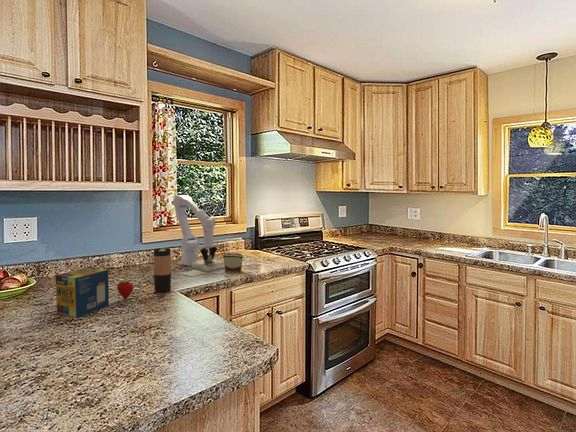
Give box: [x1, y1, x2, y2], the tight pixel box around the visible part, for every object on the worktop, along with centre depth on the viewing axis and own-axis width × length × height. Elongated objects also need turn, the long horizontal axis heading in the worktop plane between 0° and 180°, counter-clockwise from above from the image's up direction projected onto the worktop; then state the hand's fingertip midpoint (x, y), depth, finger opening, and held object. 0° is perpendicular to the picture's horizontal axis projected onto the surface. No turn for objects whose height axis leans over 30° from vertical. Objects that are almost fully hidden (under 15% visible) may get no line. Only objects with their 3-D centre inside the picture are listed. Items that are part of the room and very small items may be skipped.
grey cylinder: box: [205, 253, 212, 263], centre depth 215 cm, size 4×4×8 cm
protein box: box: [55, 266, 110, 319], centre depth 140 cm, size 10×15×16 cm
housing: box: [191, 258, 225, 273], centre depth 215 cm, size 14×14×4 cm
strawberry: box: [116, 278, 134, 300], centre depth 154 cm, size 6×8×10 cm
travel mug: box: [153, 247, 172, 294], centre depth 166 cm, size 8×8×20 cm
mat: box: [180, 269, 207, 278], centre depth 200 cm, size 10×10×1 cm
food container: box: [222, 252, 245, 273], centre depth 208 cm, size 12×6×10 cm, turn 83°
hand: (208, 260), depth 214 cm, fingers closed on grey cylinder, 4 cm apart
